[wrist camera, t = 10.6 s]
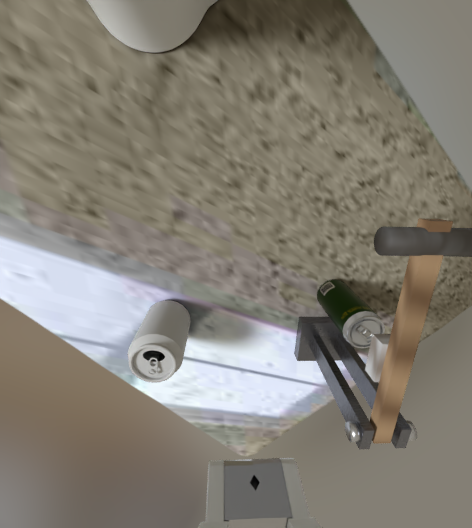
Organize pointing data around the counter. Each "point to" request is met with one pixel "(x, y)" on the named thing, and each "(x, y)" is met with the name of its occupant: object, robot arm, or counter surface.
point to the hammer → (408, 310)
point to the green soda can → (349, 313)
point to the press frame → (337, 348)
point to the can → (160, 342)
